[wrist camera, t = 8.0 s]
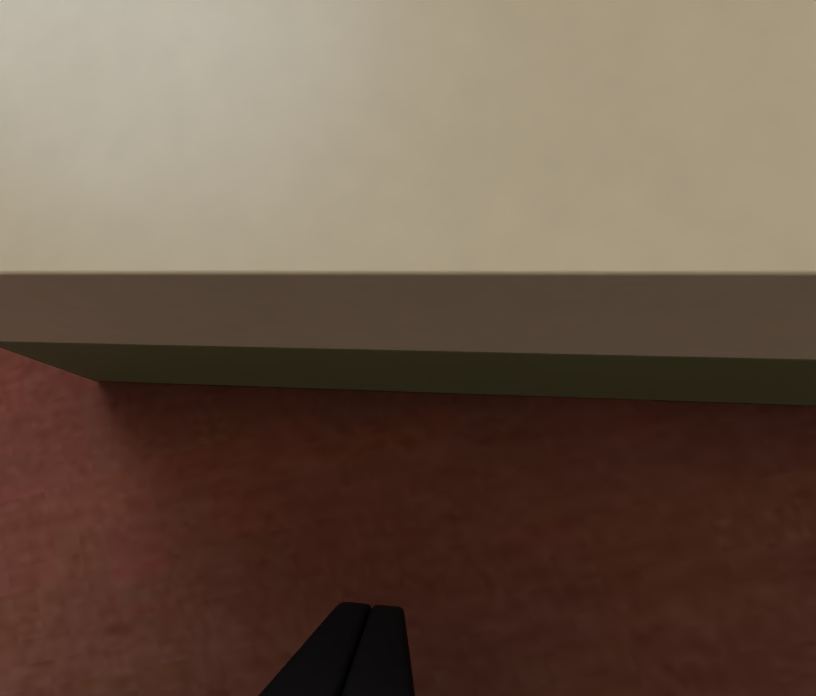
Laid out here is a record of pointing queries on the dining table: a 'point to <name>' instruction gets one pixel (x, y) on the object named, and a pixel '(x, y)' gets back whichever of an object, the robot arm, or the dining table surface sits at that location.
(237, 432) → the dining table surface
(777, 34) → the beige lidded box
